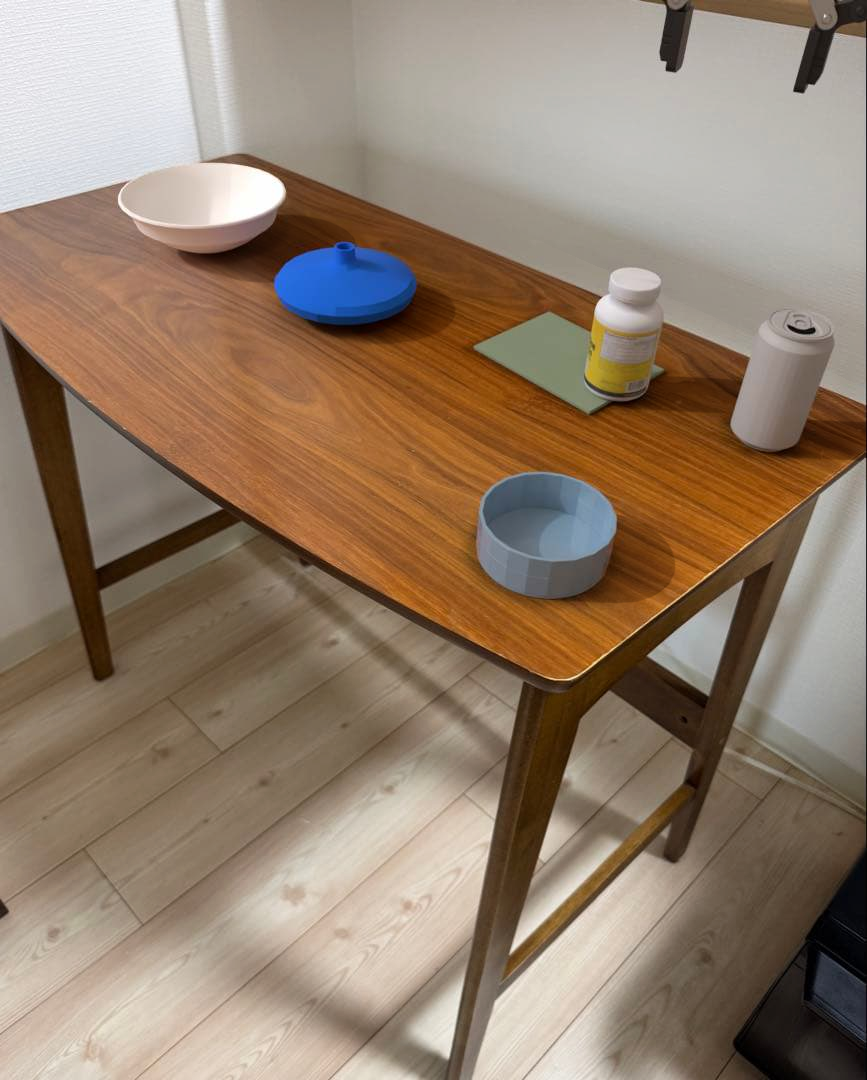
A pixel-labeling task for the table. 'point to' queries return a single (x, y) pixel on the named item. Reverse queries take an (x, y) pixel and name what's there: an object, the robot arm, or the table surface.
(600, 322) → the pill bottle
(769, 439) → the beverage can
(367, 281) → the vase
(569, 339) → the mat
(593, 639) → the table surface
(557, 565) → the grey-blue round dish
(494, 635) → the table surface
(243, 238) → the bowl
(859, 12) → the robot arm
